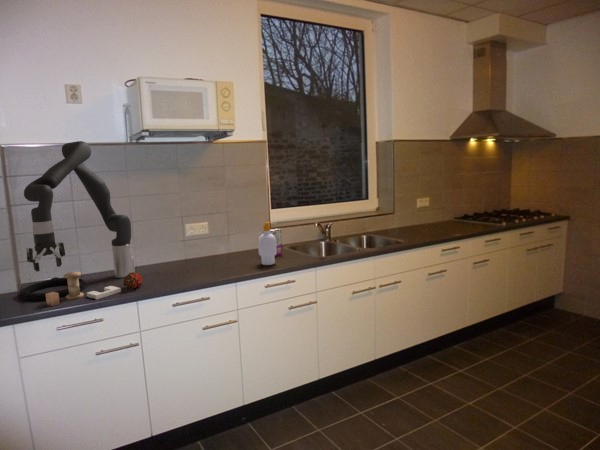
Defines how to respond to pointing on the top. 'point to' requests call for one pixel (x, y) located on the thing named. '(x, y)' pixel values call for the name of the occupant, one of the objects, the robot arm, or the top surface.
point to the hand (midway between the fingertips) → (48, 268)
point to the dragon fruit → (133, 280)
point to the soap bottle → (267, 246)
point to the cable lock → (55, 281)
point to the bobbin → (73, 285)
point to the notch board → (108, 291)
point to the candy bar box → (277, 240)
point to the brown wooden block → (52, 298)
